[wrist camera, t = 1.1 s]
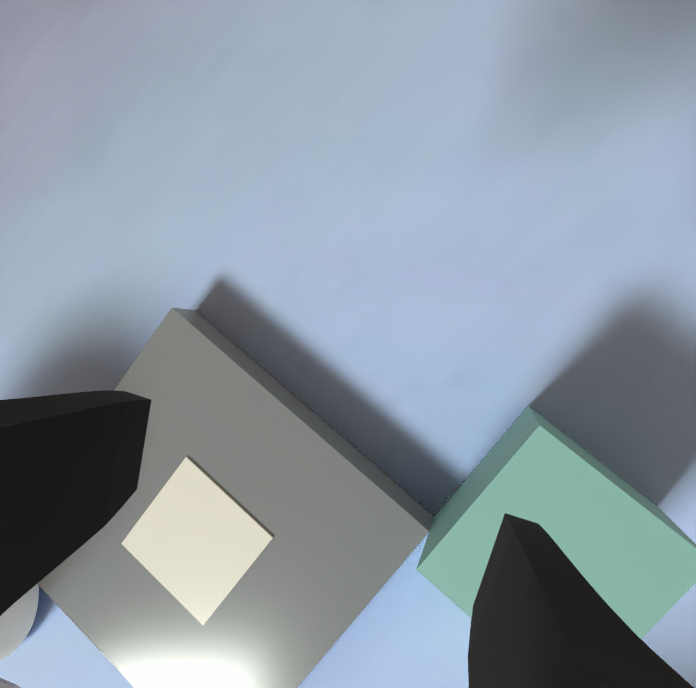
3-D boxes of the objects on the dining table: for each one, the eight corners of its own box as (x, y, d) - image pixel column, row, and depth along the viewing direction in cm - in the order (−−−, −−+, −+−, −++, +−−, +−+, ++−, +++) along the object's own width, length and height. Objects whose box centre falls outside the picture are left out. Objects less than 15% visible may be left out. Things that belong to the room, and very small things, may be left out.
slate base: (434, 516, 24) (429, 532, 22) (239, 746, 26) (218, 780, 24) (195, 310, 27) (170, 307, 25) (35, 533, 29) (1, 547, 27)
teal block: (656, 505, 22) (714, 562, 17) (553, 618, 23) (574, 709, 17) (528, 405, 24) (539, 425, 18) (434, 516, 24) (416, 569, 19)
